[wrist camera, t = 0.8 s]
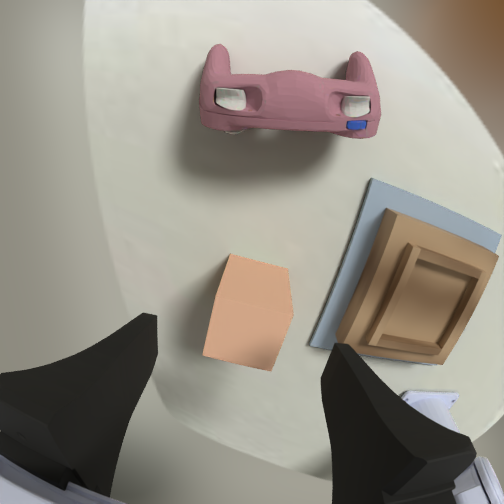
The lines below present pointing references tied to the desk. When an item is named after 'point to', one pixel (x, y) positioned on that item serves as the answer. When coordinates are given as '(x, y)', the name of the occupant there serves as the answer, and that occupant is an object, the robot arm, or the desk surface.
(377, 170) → the desk surface
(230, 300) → the terracotta block
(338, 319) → the mat
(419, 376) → the desk surface
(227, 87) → the video game controller
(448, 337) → the walnut plinth
